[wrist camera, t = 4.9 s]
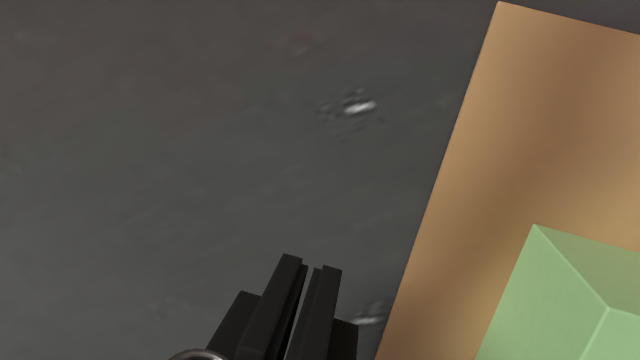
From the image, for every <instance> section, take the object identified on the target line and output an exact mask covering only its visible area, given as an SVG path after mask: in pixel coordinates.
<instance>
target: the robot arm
mask: <svg viewBox="0 0 640 360" xmlns="http://www.w3.org/2000/svg"><path fill="white" fill-rule="evenodd" d="M307 270H308V266H307V265H304V264H302V258H298V257H295V256H291V255H288V254H285V253H283V255H282V257H281V259H280V261H279V263H278V265H277V267H276V269H275V271H274V273H273V275H272V277H271V279H270V281H269V283H268V285H267V287H266V289H265V291H264V293H263V295H262V297H261V296H258V295H255V294H251V293H248V292H245V291H240V293H239V294H238V296H237V297H236V299H235V301H234V302H233V304H232V306H231V307H230V309H229V310H228V312H227V314H226V315H225V317H224V319H223V320H222V322H221V324H220V325H219V327H218V329H217V330H216V332H215V334H214V335H213V337H212V339H211V340H210V342H209V344H208V345H207V347H206V349H191V350H185V351H183V352H180V353H178V354H175V355H174V356H173V357H171V358H170V359H169V360H283V359H284V356H285V352H286V349H287V345H288V342H289V338H290V334H291V330H292V326H293V323H294V319H295V315H296V311H297V308H298V304H299V300H300V296H301V293H302V289H303V285H304V281H305V278H306V274H307ZM341 275H342V270H340V269H336V268H333V267H329V266H326V265H323V268H322V270H321V269H317V268H314V271H313V274H312V277H311V280H310V283H309V286H308V290H307V293H306V296H305V299H304V302H303V305H302V308H301V312H300V315H299V318H298V321H297V324H296V327H295V330H294V334H293V337H292V340H291V343H290V346H289V349H288V352H287V356H286V359H285V360H356V354H357V342H358V330H359V326H358V325H355V324H352V323H349V322H345V321H342V320H339V319H335V318H334V313H335V308H336V302H337V297H338V292H339V286H340V281H341Z"/></svg>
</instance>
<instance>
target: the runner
mask: <svg viewBox="0 0 640 360" xmlns="http://www.w3.org/2000/svg"><path fill="white" fill-rule="evenodd" d="M533 224H537V225H541V226H544V227H548V228H551V229H555V230H559V231H562V232H566V233H569V234H573V235H577V236H580V237H584V238H587V239H591V240H594V241H598V242H602V243H605V244H609V245H612V246H616V247H619V248H623V249H627V250H630V251H634V252H637V253H640V35H637V34H633V33H629V32H625V31H621V30H617V29H613V28H609V27H604V26H600V25H596V24H592V23H588V22H584V21H580V20H576V19H571V18H567V17H563V16H559V15H555V14H551V13H547V12H543V11H539V10H534V9H530V8H526V7H522V6H518V5H514V4H510V3H506V2H501V1H499V2H497V4H496V7H495V10H494V13H493V16H492V19H491V22H490V25H489V28H488V31H487V33H486V36H485V39H484V42H483V45H482V48H481V51H480V54H479V57H478V60H477V62H476V65H475V68H474V71H473V74H472V77H471V80H470V83H469V86H468V89H467V91H466V94H465V97H464V100H463V103H462V106H461V109H460V112H459V115H458V118H457V120H456V123H455V126H454V129H453V132H452V135H451V138H450V141H449V144H448V147H447V149H446V152H445V155H444V158H443V161H442V164H441V167H440V170H439V173H438V176H437V178H436V181H435V184H434V187H433V190H432V193H431V196H430V199H429V202H428V205H427V207H426V210H425V213H424V216H423V219H422V222H421V225H420V228H419V231H418V234H417V236H416V239H415V242H414V245H413V248H412V251H411V254H410V257H409V260H408V263H407V265H406V268H405V271H404V274H403V277H402V280H401V283H400V286H399V289H398V292H397V294H396V297H395V300H394V303H393V306H392V309H391V312H390V315H389V318H388V321H387V323H386V326H385V329H384V332H383V335H382V338H381V341H380V344H379V347H378V350H377V352H376V355H375V358H374V360H474V359H475V357H476V355H477V352H478V350H479V348H480V345H481V343H482V341H483V339H484V336H485V334H486V332H487V329H488V327H489V325H490V322H491V320H492V318H493V315H494V313H495V311H496V308H497V306H498V304H499V301H500V299H501V297H502V295H503V292H504V290H505V288H506V285H507V283H508V281H509V278H510V276H511V274H512V271H513V269H514V267H515V264H516V262H517V260H518V257H519V255H520V253H521V251H522V248H523V246H524V244H525V241H526V239H527V237H528V234H529V232H530V230H531V227H532V225H533Z"/></svg>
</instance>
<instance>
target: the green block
mask: <svg viewBox="0 0 640 360" xmlns="http://www.w3.org/2000/svg"><path fill="white" fill-rule="evenodd" d="M474 360H640V253H637V252H634V251H630V250H627V249H623V248H619V247H616V246H612V245H609V244H605V243H602V242H598V241H594V240H591V239H587V238H584V237H580V236H577V235H573V234H569V233H566V232H562V231H559V230H555V229H551V228H548V227H544V226H541V225H537V224H533V225H532V227H531V230H530V232H529V234H528V237H527V239H526V241H525V244H524V246H523V248H522V251H521V253H520V255H519V257H518V260H517V262H516V264H515V267H514V269H513V271H512V274H511V276H510V278H509V281H508V283H507V285H506V288H505V290H504V292H503V295H502V297H501V299H500V301H499V304H498V306H497V308H496V311H495V313H494V315H493V318H492V320H491V322H490V325H489V327H488V329H487V332H486V334H485V336H484V339H483V341H482V343H481V345H480V348H479V350H478V352H477V355H476V357H475V359H474Z"/></svg>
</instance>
